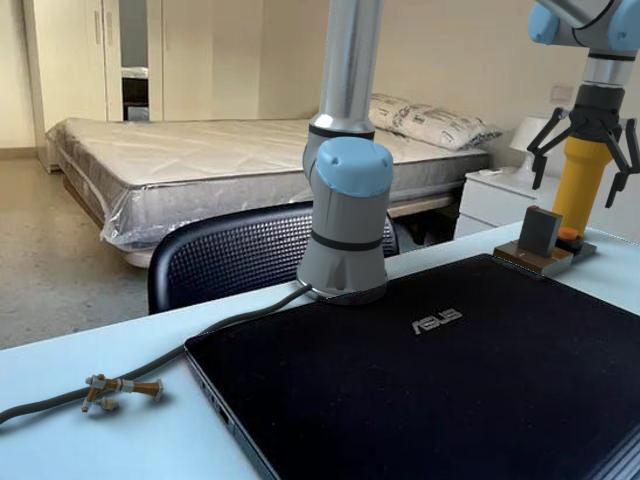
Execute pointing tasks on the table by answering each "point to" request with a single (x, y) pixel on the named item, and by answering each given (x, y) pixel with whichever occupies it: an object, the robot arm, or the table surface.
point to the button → (567, 233)
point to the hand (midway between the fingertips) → (570, 197)
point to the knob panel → (534, 258)
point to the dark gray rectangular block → (539, 231)
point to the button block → (576, 248)
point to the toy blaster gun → (124, 386)
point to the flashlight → (581, 178)
